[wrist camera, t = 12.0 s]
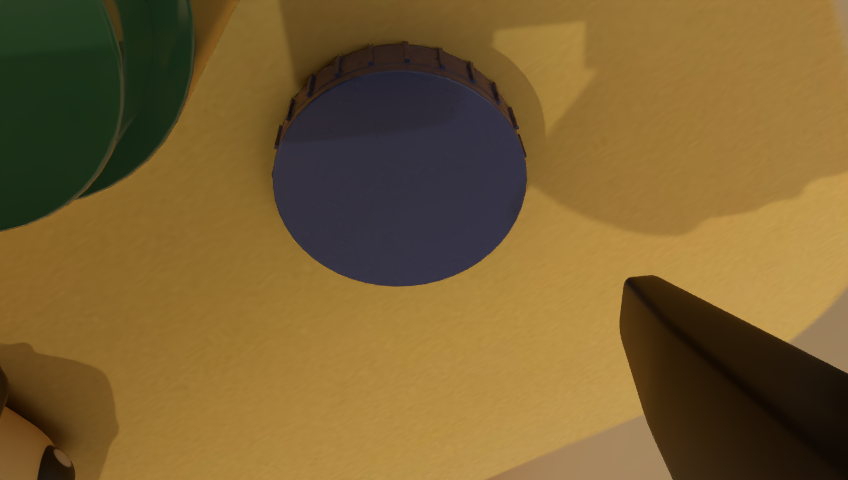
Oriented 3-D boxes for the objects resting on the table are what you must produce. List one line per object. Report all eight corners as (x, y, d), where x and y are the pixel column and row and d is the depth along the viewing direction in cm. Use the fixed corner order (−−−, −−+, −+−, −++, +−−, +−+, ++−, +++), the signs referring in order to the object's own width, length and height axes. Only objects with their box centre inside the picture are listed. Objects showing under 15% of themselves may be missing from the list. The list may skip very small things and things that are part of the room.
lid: (300, 260, 21) (294, 297, 20) (255, 51, 18) (244, 79, 16) (517, 243, 22) (526, 279, 20) (521, 30, 18) (532, 56, 16)
